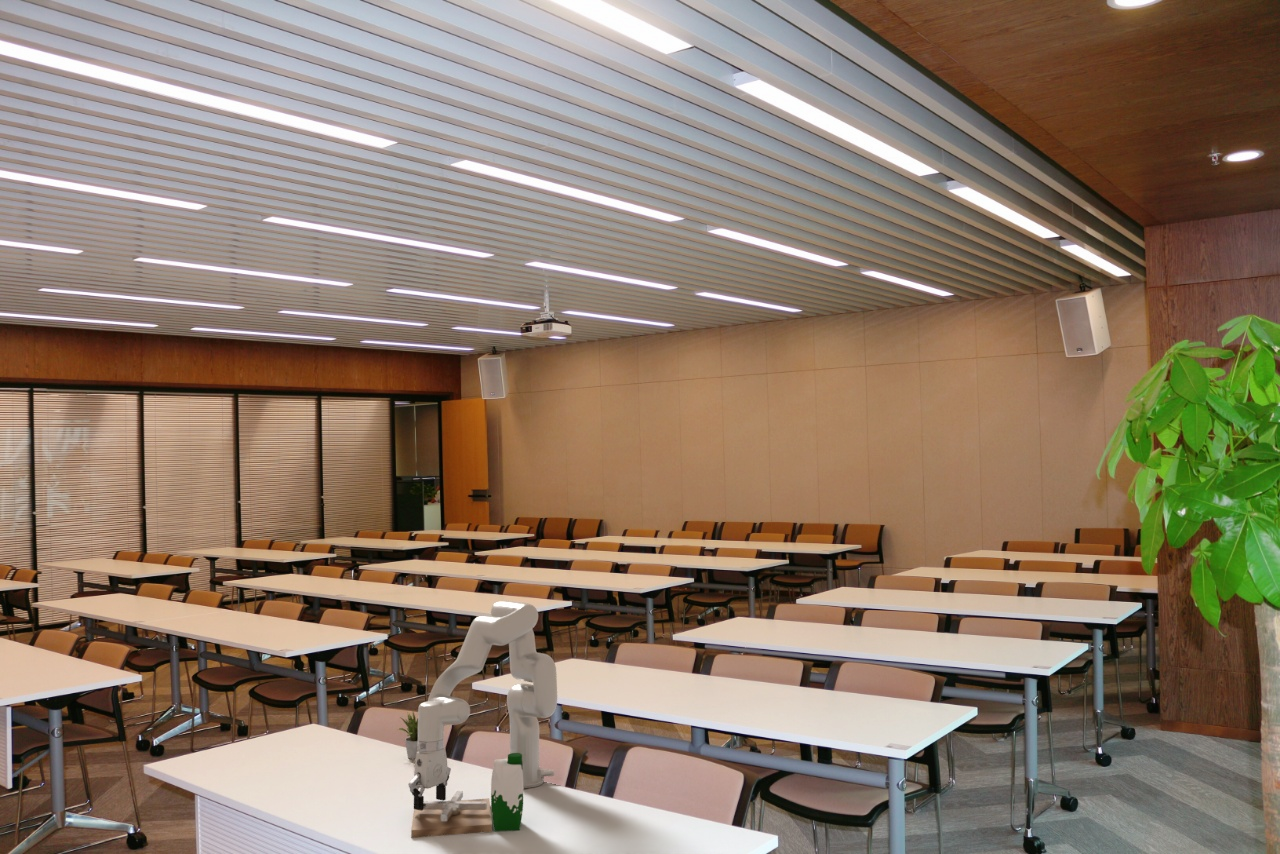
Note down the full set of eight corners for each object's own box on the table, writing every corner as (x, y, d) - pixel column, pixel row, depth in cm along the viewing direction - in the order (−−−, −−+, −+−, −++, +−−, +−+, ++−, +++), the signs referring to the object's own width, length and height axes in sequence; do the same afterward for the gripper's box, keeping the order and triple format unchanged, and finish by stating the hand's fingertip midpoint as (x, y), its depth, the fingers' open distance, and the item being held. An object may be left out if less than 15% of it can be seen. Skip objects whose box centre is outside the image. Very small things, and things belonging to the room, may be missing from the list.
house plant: (430, 763, 331) (430, 716, 332) (390, 763, 331) (391, 716, 332) (439, 751, 346) (439, 706, 346) (401, 751, 346) (401, 706, 347)
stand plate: (489, 805, 289) (489, 797, 289) (491, 831, 268) (491, 823, 268) (414, 810, 285) (414, 802, 285) (411, 837, 263) (411, 829, 263)
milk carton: (522, 831, 267) (522, 759, 268) (490, 833, 267) (490, 760, 268) (523, 820, 276) (523, 750, 277) (492, 821, 275) (492, 751, 276)
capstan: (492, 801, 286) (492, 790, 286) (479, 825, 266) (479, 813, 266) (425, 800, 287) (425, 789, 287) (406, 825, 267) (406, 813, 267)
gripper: (420, 754, 271) (419, 815, 270) (459, 739, 286) (458, 798, 285) (400, 750, 275) (399, 811, 274) (440, 736, 290) (439, 794, 289)
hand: (429, 804), depth 279 cm, fingers open, 9 cm apart
